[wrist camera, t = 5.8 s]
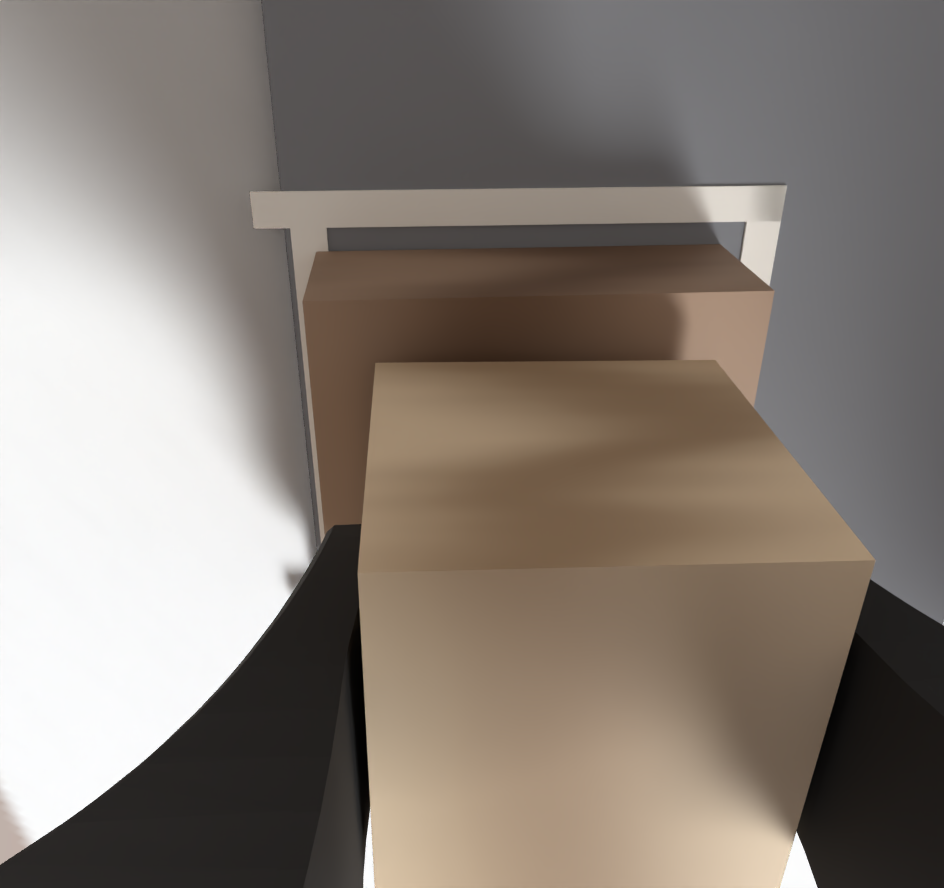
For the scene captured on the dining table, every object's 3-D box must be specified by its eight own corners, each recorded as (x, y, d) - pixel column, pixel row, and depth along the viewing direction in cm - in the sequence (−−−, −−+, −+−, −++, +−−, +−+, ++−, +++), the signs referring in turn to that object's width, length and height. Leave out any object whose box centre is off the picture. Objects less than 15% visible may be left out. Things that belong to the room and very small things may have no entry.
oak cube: (714, 359, 13) (875, 560, 8) (672, 624, 15) (779, 888, 11) (375, 362, 12) (357, 572, 8) (385, 633, 15) (375, 908, 10)
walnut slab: (720, 243, 15) (774, 290, 13) (673, 566, 19) (710, 646, 16) (316, 251, 15) (302, 301, 12) (344, 581, 18) (337, 666, 16)
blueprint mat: (1266, -388, 12) (1295, -400, 11) (926, 631, 20) (936, 644, 20) (182, -422, 11) (175, -437, 10) (308, 659, 20) (306, 673, 19)
